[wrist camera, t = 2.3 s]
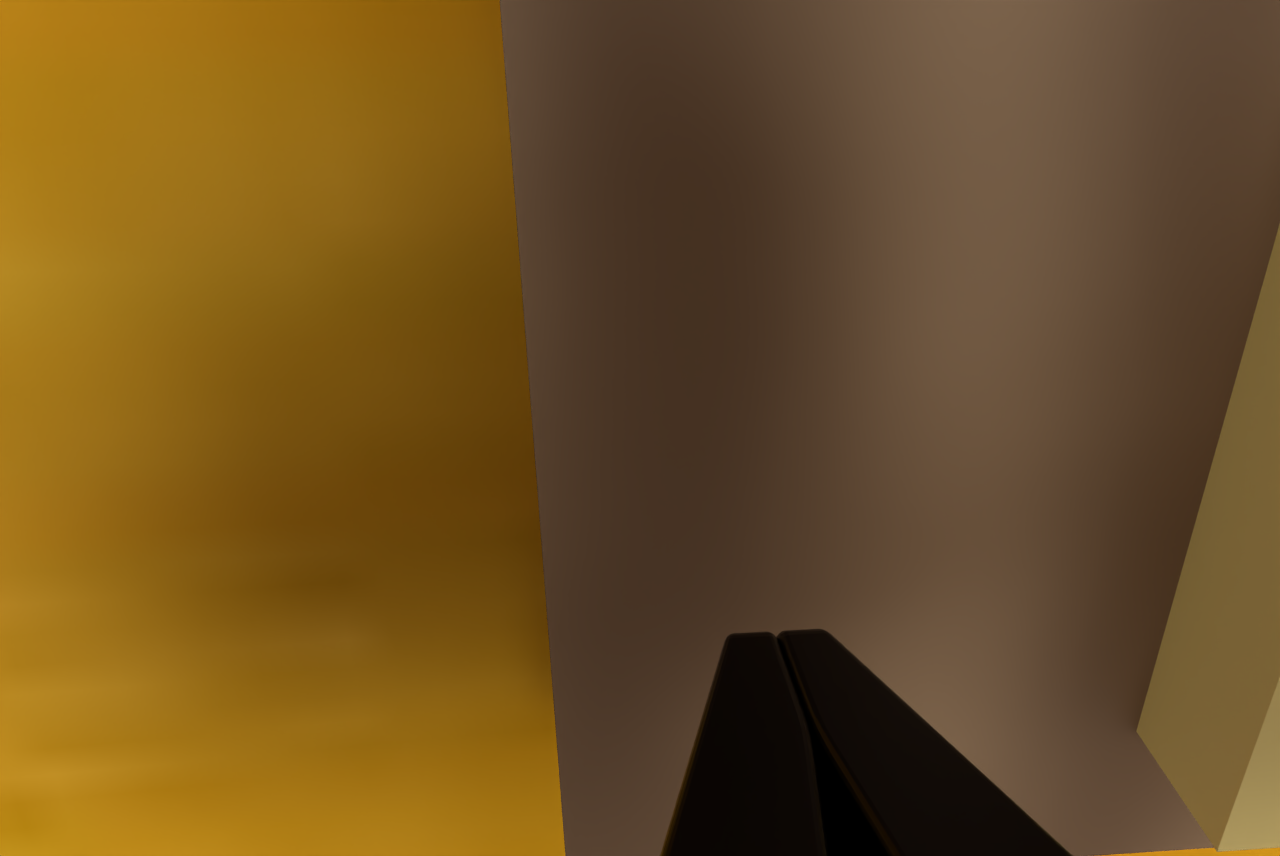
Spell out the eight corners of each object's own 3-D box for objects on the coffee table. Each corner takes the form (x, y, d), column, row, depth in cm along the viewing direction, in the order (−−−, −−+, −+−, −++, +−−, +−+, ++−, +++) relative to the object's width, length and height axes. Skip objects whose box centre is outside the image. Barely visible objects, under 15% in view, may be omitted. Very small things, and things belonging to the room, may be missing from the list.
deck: (1801, -232, 13) (2275, -276, 9) (1418, 649, 19) (1608, 821, 16) (506, -211, 12) (480, -251, 8) (568, 699, 18) (568, 890, 15)
